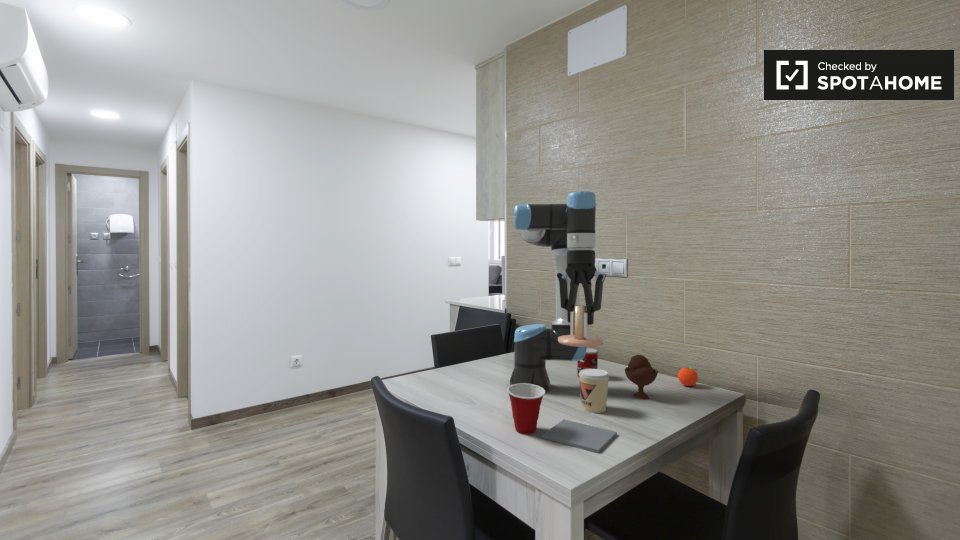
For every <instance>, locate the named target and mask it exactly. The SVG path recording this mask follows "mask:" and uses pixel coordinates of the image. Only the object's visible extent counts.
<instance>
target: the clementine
mask: <svg viewBox="0 0 960 540" xmlns="http://www.w3.org/2000/svg"><path fill="white" fill-rule="evenodd" d="M677 378H678V381H679V382H680V384H682V385H683V386H685V387H693V386H695V385H696V384H697V383H698V381H699V375H698V370H697V369H696V368H694V367H690V366H689V367H683V368H681V369H680V370H679V372H678V374H677Z"/></svg>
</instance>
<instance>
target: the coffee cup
mask: <svg viewBox="0 0 960 540" xmlns="http://www.w3.org/2000/svg"><path fill="white" fill-rule="evenodd" d="M579 376H580V378H579V391H580V392H579V393H580V405H581V409H583V411H585V412H586V411H587V412H588V413H590V414H591V413H593V414H601V413H602V414H603V413H604V412H606V410H607V402H608V391H609V378H610V374H609V372H608V371H606V370H604V369H599V368H597V369H583V370H581V371H580V373H579Z"/></svg>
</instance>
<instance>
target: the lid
mask: <svg viewBox="0 0 960 540" xmlns="http://www.w3.org/2000/svg"><path fill="white" fill-rule="evenodd" d="M586 311H587V309H586V304H584V305H583V304H579V305H575V310H574V336H571V335H564V336H560V337H558V343H560V344H563V345H568V346H576V347H587V348H592V347H595V348H596V347H599V346H602V345H603V344H604V339H603V338H602V337H599V336H594V335H590V336H589V337H584V313H585V312H586Z"/></svg>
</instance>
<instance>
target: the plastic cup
mask: <svg viewBox="0 0 960 540" xmlns="http://www.w3.org/2000/svg"><path fill="white" fill-rule="evenodd" d="M506 391H507V393H508V396H509V400H510V407H511V411H512V412H511V413H512V418H513V423H514V429H515V432H517V433H519V434H522V435H530V434H531V435H532V434H534V433H535V432H536V431H537V427H538V426H537V425H538V420H539V416H540V412H541V411H540V410H541V403H542V402H543V401H542V400H543V398H544V396H545V395H546V392H545V390H544V389H543V388H542V387H540V386H537V385H533V384H526V383H520V384H513V385H511V386H510V385H509V386H507V389H506Z"/></svg>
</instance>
